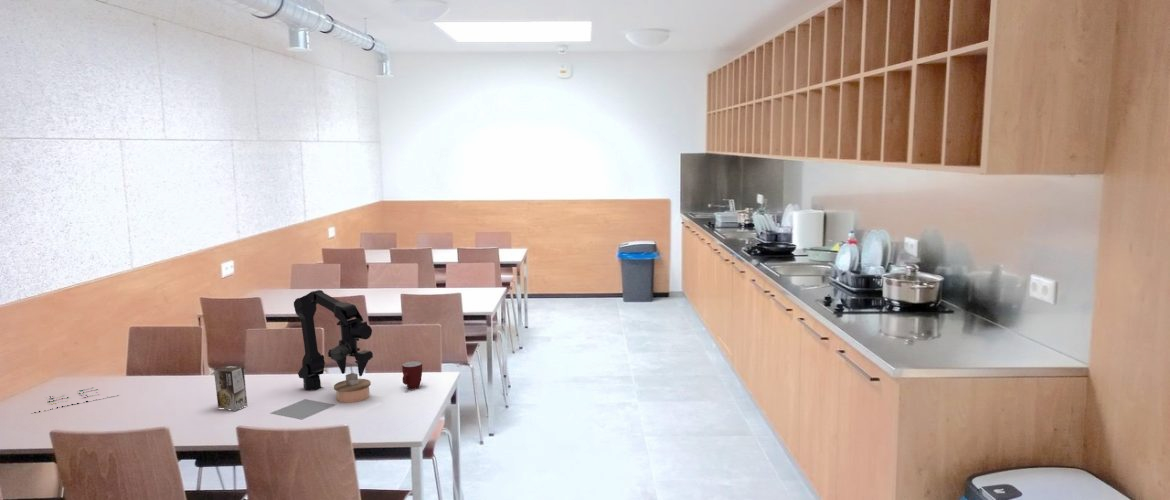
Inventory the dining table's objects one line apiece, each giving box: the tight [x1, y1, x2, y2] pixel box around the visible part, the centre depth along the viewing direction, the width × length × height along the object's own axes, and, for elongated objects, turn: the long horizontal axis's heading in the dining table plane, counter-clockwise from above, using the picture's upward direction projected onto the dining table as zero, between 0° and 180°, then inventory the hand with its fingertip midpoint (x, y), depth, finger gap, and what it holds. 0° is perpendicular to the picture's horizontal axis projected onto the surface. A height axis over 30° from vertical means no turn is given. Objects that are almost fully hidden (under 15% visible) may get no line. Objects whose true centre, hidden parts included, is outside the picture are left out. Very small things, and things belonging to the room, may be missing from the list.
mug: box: [401, 360, 423, 390], centre depth 308 cm, size 10×8×10 cm
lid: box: [333, 372, 372, 392], centre depth 296 cm, size 14×14×5 cm
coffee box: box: [213, 365, 248, 411], centre depth 290 cm, size 9×6×16 cm
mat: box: [269, 398, 336, 420], centre depth 285 cm, size 17×17×1 cm
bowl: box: [336, 386, 371, 403], centre depth 297 cm, size 12×12×6 cm
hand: (351, 374), depth 295 cm, fingers open, 9 cm apart
